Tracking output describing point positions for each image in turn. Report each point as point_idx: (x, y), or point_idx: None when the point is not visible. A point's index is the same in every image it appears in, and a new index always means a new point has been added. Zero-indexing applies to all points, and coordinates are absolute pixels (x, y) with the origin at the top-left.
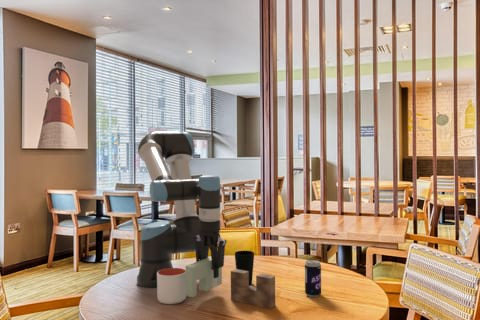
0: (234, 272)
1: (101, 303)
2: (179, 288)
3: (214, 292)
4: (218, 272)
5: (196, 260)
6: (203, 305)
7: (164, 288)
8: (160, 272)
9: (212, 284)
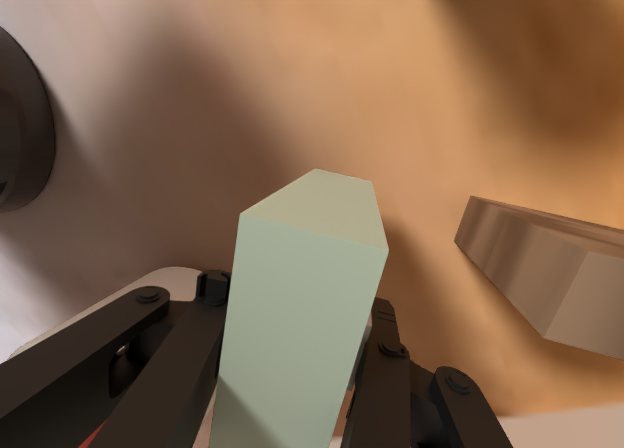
0: (593, 348)
1: None
2: (214, 402)
3: (319, 163)
4: (396, 328)
5: (118, 366)
6: None
7: None
8: None
9: None
